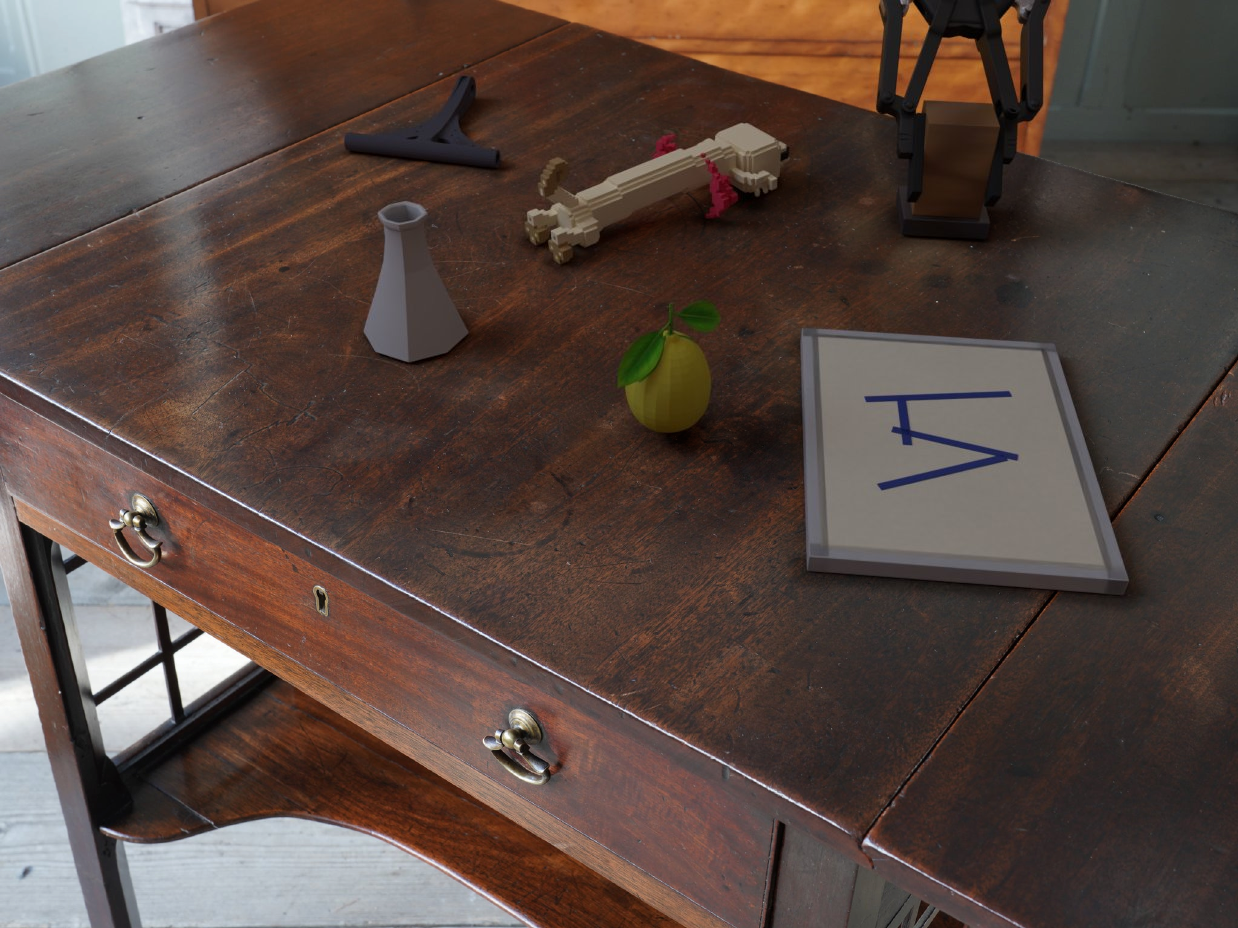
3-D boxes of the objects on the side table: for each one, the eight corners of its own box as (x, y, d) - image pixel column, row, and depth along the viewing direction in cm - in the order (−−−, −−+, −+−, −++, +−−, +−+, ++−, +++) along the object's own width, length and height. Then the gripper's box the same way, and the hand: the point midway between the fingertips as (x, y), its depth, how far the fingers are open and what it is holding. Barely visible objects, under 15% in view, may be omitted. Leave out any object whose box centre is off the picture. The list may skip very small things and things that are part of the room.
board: (1050, 357, 88) (1054, 342, 87) (1123, 595, 70) (1129, 579, 69) (800, 341, 89) (802, 326, 88) (806, 571, 71) (809, 555, 70)
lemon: (714, 402, 83) (724, 275, 77) (720, 457, 79) (730, 327, 72) (616, 401, 83) (618, 274, 77) (616, 456, 79) (618, 326, 72)
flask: (346, 334, 89) (327, 211, 83) (425, 298, 93) (412, 177, 87) (406, 376, 85) (390, 250, 79) (486, 336, 89) (477, 213, 83)
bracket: (540, 105, 121) (539, 78, 119) (495, 171, 110) (494, 142, 108) (402, 91, 123) (399, 64, 121) (345, 154, 112) (341, 126, 110)
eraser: (977, 205, 105) (1000, 99, 99) (986, 239, 101) (1011, 131, 95) (895, 201, 106) (913, 95, 100) (901, 235, 101) (920, 126, 95)
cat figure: (580, 292, 96) (818, 187, 106) (570, 194, 90) (824, 92, 100) (514, 240, 103) (745, 145, 112) (502, 145, 97) (747, 54, 106)
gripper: (1068, -48, 103) (1057, 219, 101) (848, -57, 104) (832, 207, 102) (1097, -97, 96) (1085, 190, 94) (859, -106, 97) (842, 177, 95)
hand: (953, 198), depth 98 cm, fingers closed on eraser, 5 cm apart
